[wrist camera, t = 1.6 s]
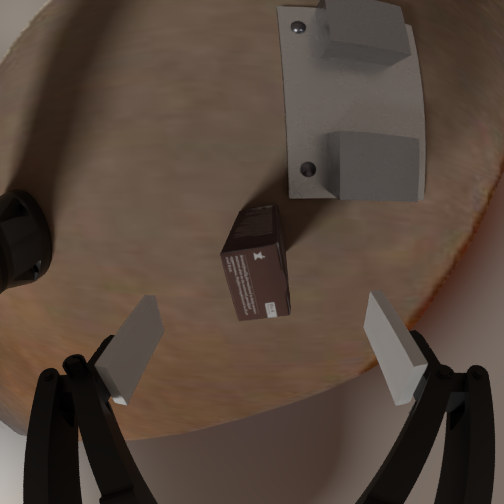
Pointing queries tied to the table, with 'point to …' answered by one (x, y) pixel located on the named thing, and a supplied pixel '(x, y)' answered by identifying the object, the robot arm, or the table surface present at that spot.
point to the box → (257, 265)
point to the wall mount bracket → (352, 102)
